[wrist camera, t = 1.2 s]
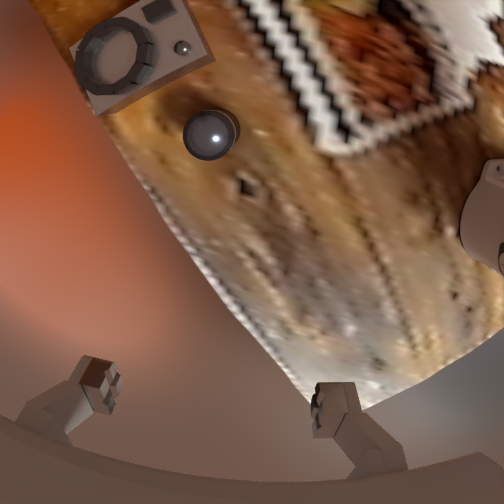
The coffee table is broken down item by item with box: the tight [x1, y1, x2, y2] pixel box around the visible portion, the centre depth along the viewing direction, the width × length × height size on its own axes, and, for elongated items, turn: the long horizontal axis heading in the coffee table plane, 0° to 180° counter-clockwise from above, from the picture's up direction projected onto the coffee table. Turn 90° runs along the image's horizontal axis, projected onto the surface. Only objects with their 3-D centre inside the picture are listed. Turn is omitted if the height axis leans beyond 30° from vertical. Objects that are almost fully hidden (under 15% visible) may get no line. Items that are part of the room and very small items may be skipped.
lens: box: [183, 109, 240, 161], centre depth 32 cm, size 5×5×7 cm
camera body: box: [69, 0, 216, 116], centre depth 28 cm, size 14×10×7 cm
